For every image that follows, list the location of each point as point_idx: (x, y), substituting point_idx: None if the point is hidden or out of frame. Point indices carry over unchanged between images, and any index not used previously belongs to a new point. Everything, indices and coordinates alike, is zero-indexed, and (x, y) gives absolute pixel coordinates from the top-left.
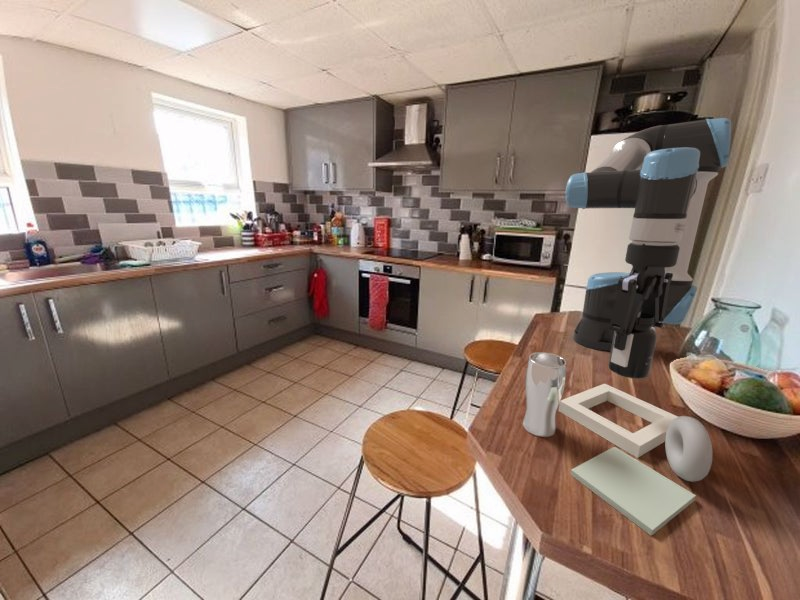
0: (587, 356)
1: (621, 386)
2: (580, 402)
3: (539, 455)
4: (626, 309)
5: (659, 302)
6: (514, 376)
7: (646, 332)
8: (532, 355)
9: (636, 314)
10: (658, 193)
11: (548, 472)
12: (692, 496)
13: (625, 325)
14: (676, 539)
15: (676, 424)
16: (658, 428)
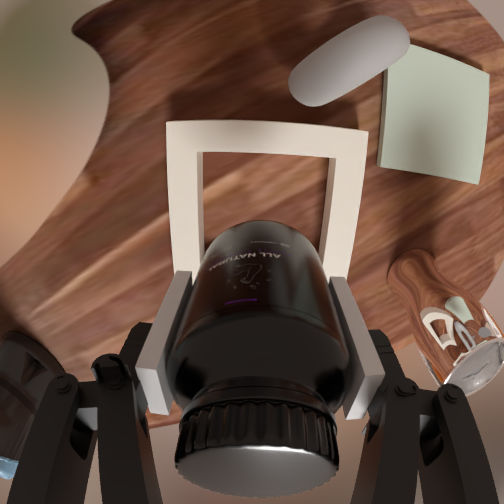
0: (87, 358)
1: (120, 274)
2: None
3: (467, 230)
4: (490, 487)
5: (59, 487)
6: None
7: (302, 365)
8: (466, 392)
9: (396, 479)
10: None
11: (485, 203)
12: None
13: (461, 416)
14: (466, 51)
15: (364, 82)
16: (263, 135)
